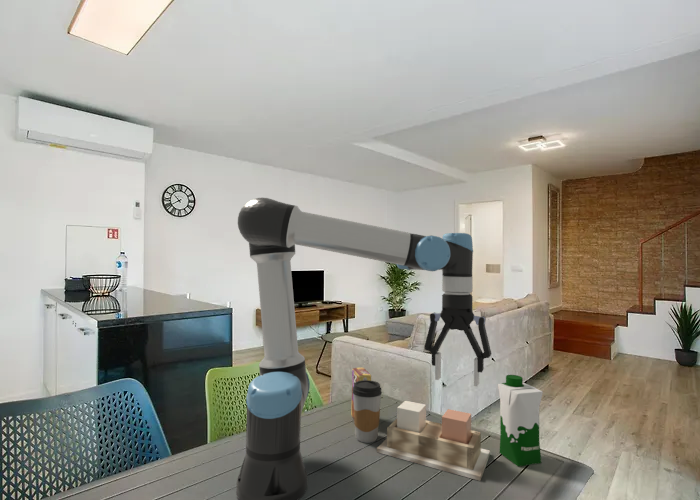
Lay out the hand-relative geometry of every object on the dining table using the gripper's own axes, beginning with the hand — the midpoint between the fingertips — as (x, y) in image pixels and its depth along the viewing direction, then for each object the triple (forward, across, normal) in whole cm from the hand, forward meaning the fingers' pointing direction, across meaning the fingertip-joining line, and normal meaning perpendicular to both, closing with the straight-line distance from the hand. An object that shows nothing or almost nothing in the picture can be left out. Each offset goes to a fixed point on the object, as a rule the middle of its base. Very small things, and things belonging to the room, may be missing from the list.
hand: (456, 381), depth 97 cm
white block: (+15, +12, 0) cm, 20 cm away
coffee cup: (+20, +25, +1) cm, 32 cm away
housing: (+19, +6, 0) cm, 20 cm away
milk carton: (+20, -14, -9) cm, 26 cm away
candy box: (+20, +32, -9) cm, 39 cm away
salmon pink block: (+15, 0, 0) cm, 15 cm away
